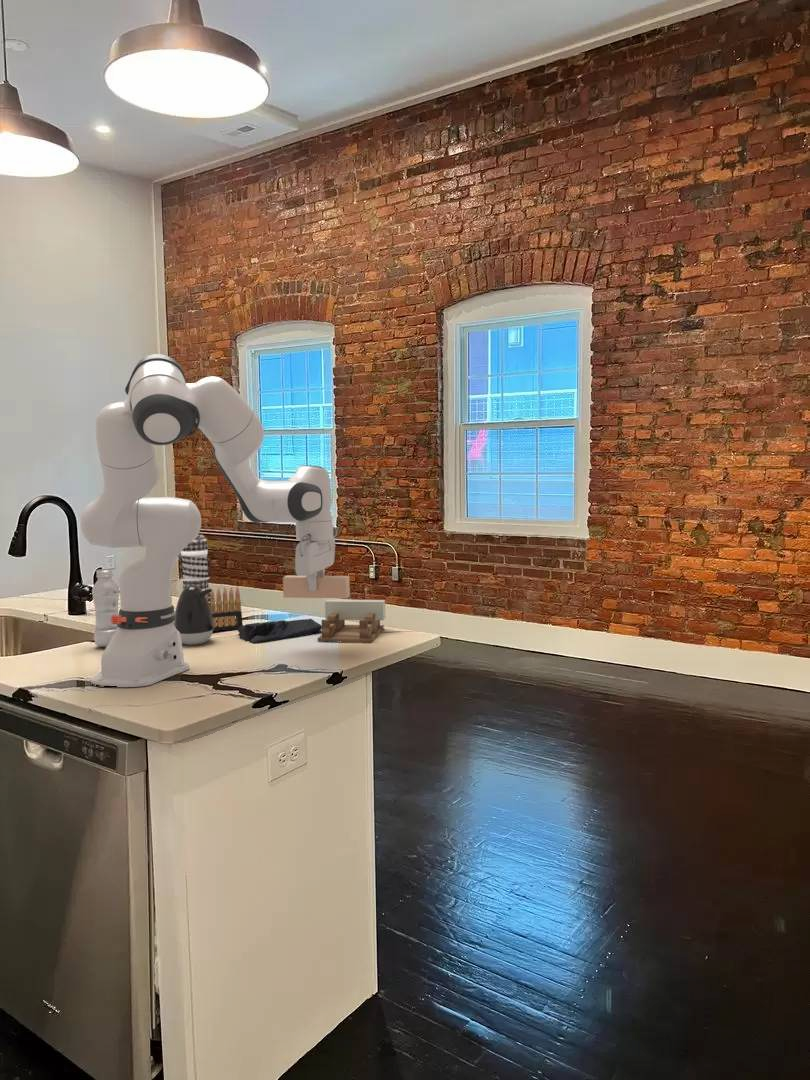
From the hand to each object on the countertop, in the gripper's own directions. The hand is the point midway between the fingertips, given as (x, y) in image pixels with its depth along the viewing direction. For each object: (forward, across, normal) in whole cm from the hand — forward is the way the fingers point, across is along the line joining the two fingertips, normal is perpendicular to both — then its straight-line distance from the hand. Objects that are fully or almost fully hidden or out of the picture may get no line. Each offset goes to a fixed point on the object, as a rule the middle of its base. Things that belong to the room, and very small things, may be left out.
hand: (316, 588), depth 194 cm
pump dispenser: (+15, +4, +35) cm, 38 cm away
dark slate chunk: (+16, +17, +16) cm, 28 cm away
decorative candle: (+16, +38, +51) cm, 65 cm away
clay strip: (+2, 0, 0) cm, 2 cm away
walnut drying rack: (+15, +17, -4) cm, 23 cm away
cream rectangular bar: (+12, +22, -4) cm, 25 cm away
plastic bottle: (+15, -2, +56) cm, 58 cm away
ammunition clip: (+16, +20, +34) cm, 43 cm away
